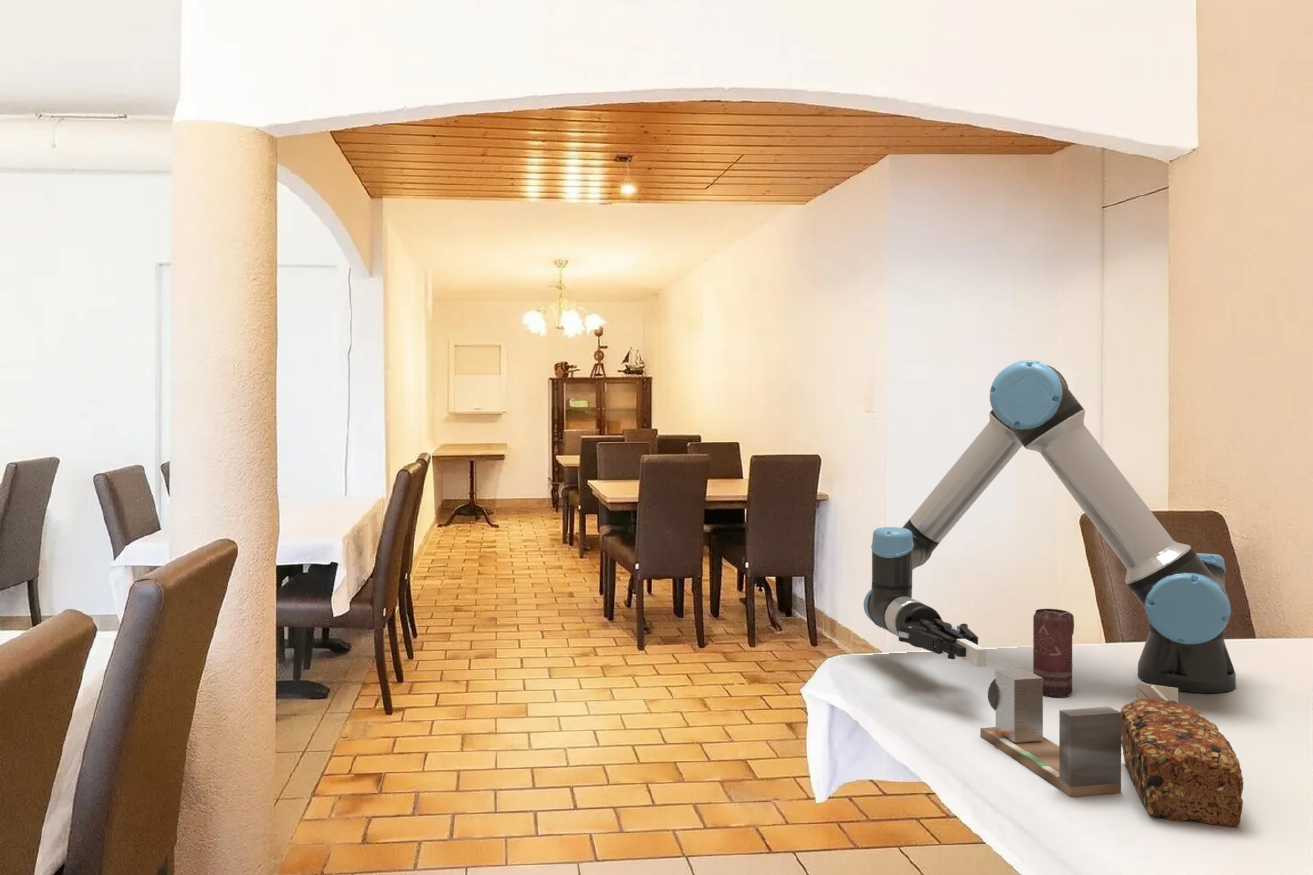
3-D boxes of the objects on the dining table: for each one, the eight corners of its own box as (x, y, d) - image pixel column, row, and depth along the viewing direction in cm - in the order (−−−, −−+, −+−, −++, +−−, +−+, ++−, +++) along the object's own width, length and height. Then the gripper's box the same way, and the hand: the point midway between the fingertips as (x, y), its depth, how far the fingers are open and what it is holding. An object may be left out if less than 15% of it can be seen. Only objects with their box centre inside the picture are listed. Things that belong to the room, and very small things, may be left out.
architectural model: (1177, 744, 134) (1177, 694, 134) (1124, 735, 138) (1124, 686, 138) (1179, 737, 137) (1179, 688, 136) (1127, 729, 141) (1127, 681, 140)
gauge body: (980, 735, 137) (980, 668, 137) (1023, 732, 138) (1023, 665, 138) (1070, 796, 115) (1070, 716, 115) (1121, 792, 116) (1121, 712, 116)
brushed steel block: (982, 729, 136) (982, 669, 135) (1025, 726, 137) (1025, 666, 136) (1003, 743, 130) (1003, 680, 130) (1047, 740, 131) (1048, 677, 131)
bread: (1118, 762, 127) (1118, 690, 126) (1206, 771, 123) (1207, 697, 123) (1143, 820, 109) (1143, 736, 109) (1247, 832, 105) (1247, 746, 105)
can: (1077, 698, 154) (1077, 615, 153) (1037, 696, 155) (1037, 614, 155) (1069, 688, 160) (1069, 608, 159) (1030, 686, 161) (1030, 607, 161)
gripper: (947, 641, 167) (1019, 679, 144) (879, 644, 165) (941, 683, 142) (947, 600, 167) (1020, 632, 144) (880, 602, 165) (942, 635, 141)
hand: (981, 657), depth 143 cm, fingers closed
